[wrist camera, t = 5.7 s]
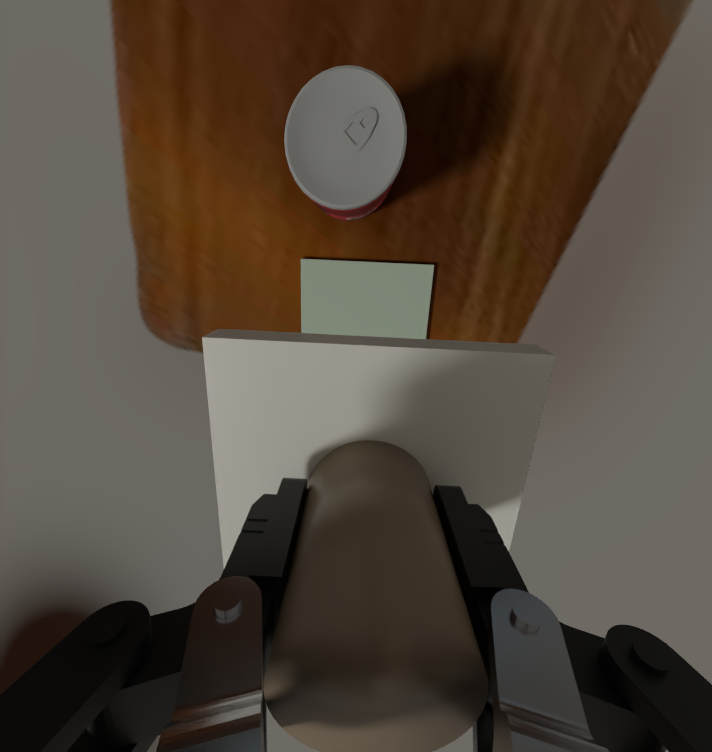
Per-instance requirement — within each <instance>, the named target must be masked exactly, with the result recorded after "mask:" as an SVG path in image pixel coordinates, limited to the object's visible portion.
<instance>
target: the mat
mask: <svg viewBox="0 0 712 752" xmlns="http://www.w3.org/2000/svg"><path fill="white" fill-rule="evenodd" d="M433 271H434V265H426V264H405V263H383V262H362V261H340V260H319V259H301V333H310V334H330V335H350V336H371V337H391V338H411V339H426V333H427V324H428V315H429V307H430V298H431V289H432V280H433Z"/></svg>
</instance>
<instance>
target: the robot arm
mask: <svg viewBox="0 0 712 752" xmlns="http://www.w3.org/2000/svg"><path fill="white" fill-rule="evenodd" d="M306 493H307V479H301V478H283V479H282V481H281V484H280V487H279V489H278V492H277V494H263V495H262V496H261V497H260V498H259V499H258V500H257V501H256V502H255V503H254V504H253V505H252V506H251V508H250V511H249V513H248V515H247V518H246V521H245V522H244V525H243V527H242V529H241V533H240V534H239V536H238V538H237V541H236V543H235V545H234V548H233V550H232V552H231V555H230V557H229V559H228V561H227V564H226V566H225V568H224V571H223V573H222V575H221V578H220V579H219V580H218V581H216V582H214V583H213V584H211V585H210V586H209V587H207V588H206V589H205V590H204V591H203V592H202V593H201V595H200V596H199V597H198V599H197V601H196V602H195V603H193V604H191V605H189V606H187V607H183V608H180V609H177V610H173V611H169V612H165V613H161V614H157V615H153V616H150V614H149V611H148V609H147V608H146V607H145V605H143V604H142V603H140V602H137V601H120V602H116V603H113V604H110V605H108V606H105V607H103V608H101V609H99V610H97V611H96V612H94V613H93V614H91V615H90V616H89V617H87V618H86V619H85V620H84V621H83V622H81V623H80V624H79V625H78V626H77V627H76V628H75V629H73V630H72V631H71V632H70V633H69V634H68V635H67V636H66V637H64V638H63V639H62V640H61V641H60V642H59V643H58V644H57V645H56V646H54V647H53V648H52V649H51V650H50V651H49V652H48V653H46V654H45V655H44V656H43V657H42V658H41V659H40V660H39V661H38V662H36V663H35V664H34V665H33V666H32V667H31V668H30V669H28V670H27V671H26V672H25V673H24V674H23V675H22V676H21V677H19V678H18V679H17V680H16V681H15V682H14V683H13V684H12V685H10V686H9V687H8V688H7V689H6V690H5V691H4V692H3V693H1V694H0V752H147V750H148V749H149V747H150V746H151V744H152V743H153V742H154V740H155V739H156V737H157V736H158V735H161V736H160V738H159V742H158V746H157V750H156V752H267V704H266V701H265V696H264V690H263V688H264V677H265V672H266V668H267V664H268V659H269V655H270V651H271V646H272V642H273V637H274V633H275V629H276V624H277V620H278V616H279V611H280V607H281V603H282V599H283V594H284V590H285V585H286V581H287V577H288V572H289V568H290V563H291V559H292V555H293V550H294V546H295V542H296V537H297V533H298V528H299V524H300V520H301V515H302V511H303V506H304V502H305V498H306ZM433 497H434V500H435V504H436V507H437V510H438V514H439V517H440V520H441V524H442V527H443V530H444V534H445V537H446V540H447V544H448V547H449V550H450V554H451V557H452V560H453V564H454V567H455V570H456V574H457V577H458V580H459V584H460V587H461V590H462V594H463V597H464V600H465V604H466V607H467V610H468V614H469V617H470V620H471V624H472V627H473V630H474V634H475V637H476V640H477V644H478V647H479V650H480V654H481V657H482V660H483V664H484V667H485V670H486V674H487V678H488V697H487V701H486V704H485V707H484V709H483V711H482V713H481V715H480V716H479V718H478V719H477V721H476V722H475V723H474V724H473V752H665V751H666V749H667V750H668V751H669V752H712V685H711V684H710V683H709V682H708V681H707V680H706V679H705V678H704V677H703V676H701V675H700V674H699V673H698V672H697V671H696V670H695V669H694V668H692V666H690V665H689V664H688V663H687V662H686V661H685V660H684V659H683V658H682V657H681V656H679V655H678V654H677V653H676V652H675V651H674V650H673V649H672V648H670V647H669V646H668V645H667V644H666V643H664V642H663V641H662V640H660V639H659V638H657V637H656V636H654V635H652V634H651V633H649V632H647V631H645V630H642V629H640V628H637V627H634V626H630V625H616V626H614V627H612V628H610V629H609V630H608V632H607V635H606V637H605V638H602V637H599V636H596V635H593V634H590V633H587V632H584V631H581V630H578V629H575V628H572V627H570V626H567V625H565V624H563V623H561V622H559V621H558V619H557V617H556V616H555V614H554V613H553V611H552V610H551V609H550V608H549V607H548V606H547V605H546V604H545V603H544V602H542V601H541V600H540V599H538V598H537V597H535V596H534V595H532V594H530V593H529V592H528V590H527V588H526V586H525V584H524V582H523V580H522V578H521V576H520V574H519V572H518V570H517V568H516V566H515V564H514V562H513V560H512V558H511V556H510V554H509V552H508V550H507V548H506V546H504V542H503V540H502V538H501V536H500V534H499V533H498V529H497V527H496V525H495V523H494V521H493V519H492V517H491V516H490V515H489V514H488V513H487V512H486V511H485V510H484V509H483V508H482V507H481V506H480V505H479V504H468V502H467V500H466V498H465V495H464V493H463V491H462V489H461V487H460V486H443V485H435V487H434V491H433Z"/></svg>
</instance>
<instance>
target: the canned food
mask: <svg viewBox="0 0 712 752" xmlns="http://www.w3.org/2000/svg"><path fill="white" fill-rule="evenodd" d="M284 143H285V153H286V158H287V161H288V165H289V168H290V171H291V173H292V175H293V177H294V179H295V181H296V183H297V184H298V185H299V187H300V188H301V189H302V191H303V192H304V193H305V194H306V195H307V196H308V197H309V198H310V199H311V200H312V201H313V202H314V203H315V204H316V205H317V206H318V207H319V208H321V209H322V210H323V211H324V212H325V213H327V214H328V215H330V216H332V217H334V218H337V219H340V220H356V219H359V218H362V217H365V216H367V215H368V214H370V213H372V212H373V211H374V210H375V209H377V208H378V207H379V206H380V204H381V203H382V202H383V201H384V199H385V198H386V196H387V194H388V192H389V190H390V188H391V186H392V185H393V183H394V181H395V179H396V177H397V175H398V173H399V170H400V168H401V165H402V162H403V159H404V156H405V150H406V144H407V126H406V120H405V115H404V111H403V108H402V106H401V103H400V100H399V98H398V97H397V95H396V94H395V92H394V90H393V89H392V87H391V86H390V85H389V84H388V83H387V82H386V81H385V80H384V79H383V78H382V77H380V76H379V75H377V74H376V73H374V72H373V71H370V70H368V69H365V68H362V67H358V66H349V65H346V66H338V67H333V68H331V69H328V70H326V71H323V72H321V73H320V74H318V75H317V76H315V77H314V78H312V79H311V80H310V81H309V82H308V83H307V84H306V85H305V86H304V87H303V88H302V89H301V91H300V92H299V94H298V95H297V97H296V98H295V100H294V102H293V104H292V106H291V109H290V111H289V113H288V118H287V122H286V126H285V138H284Z"/></svg>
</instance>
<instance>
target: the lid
mask: <svg viewBox="0 0 712 752" xmlns="http://www.w3.org/2000/svg"><path fill="white" fill-rule="evenodd" d="M202 342H203V352H204V363H205V373H206V384H207V394H208V405H209V416H210V426H211V436H212V447H213V458H214V469H215V479H216V490H217V501H218V510H219V522H220V533H221V543H222V554H223V565H224V568H225V566H226V564H227V561H228V559H229V557H230V555H231V552H232V550H233V548H234V545H235V543H236V541H237V538H238V536H239V534H240V533H241V529H242V527H243V525H244V522H245V521H246V518H247V515H248V513H249V511H250V508H251V506H252V505H253V504H254V503H255V502H256V501H257V500H258V499H259V498H260V497H261V496H262V495H263V494H277V492H278V489H279V487H280V484H281V481H282V479H283V478H301V479H307V493H306V498H305V502H304V506H303V511H302V515H301V520H300V524H299V528H298V533H297V537H296V542H295V546H294V550H293V555H292V559H291V563H290V568H289V572H288V577H287V581H286V585H285V590H284V594H283V599H282V603H281V607H280V611H279V616H278V620H277V624H276V629H275V633H274V637H273V642H272V646H271V651H270V655H269V659H268V664H267V668H266V672H265V677H264V688H263V690H264V696H265V701H266V704H267V706H268V709H269V711H270V712H271V714H272V716H273V717H274V719H275V720H276V721H277V722H278V724H279V725H280V726H281V727H282V728H283V729H284V730H285V731H286V732H287V733H289V734H290V735H291V736H293V737H294V738H295V739H297V740H298V741H300V742H302V743H303V744H305V745H307V746H309V747H311V748H313V749H316V750H318V751H321V752H432V751H435V750H437V749H439V748H441V747H444V746H446V745H447V744H449V743H451V742H453V741H455V740H456V739H457V738H459V737H460V736H461V735H463V734H464V733H465V732H466V731H467V730H468V729H469V728H471V727H472V726H473V724H474V723H475V722H476V721H477V719H478V718H479V716H480V715H481V713H482V711H483V709H484V707H485V704H486V701H487V697H488V678H487V674H486V670H485V667H484V664H483V660H482V657H481V654H480V650H479V647H478V644H477V640H476V637H475V634H474V630H473V627H472V624H471V620H470V617H469V614H468V610H467V607H466V604H465V600H464V597H463V594H462V590H461V587H460V584H459V580H458V577H457V574H456V570H455V567H454V564H453V560H452V557H451V554H450V550H449V547H448V544H447V540H446V537H445V534H444V530H443V527H442V524H441V520H440V517H439V514H438V510H437V507H436V504H435V500H434V497H433V491H434V487H435V485H443V486H460V487H461V489H462V491H463V493H464V495H465V498H466V500H467V502H468V504H479V505H480V506H481V507H482V508H483V509H484V510H485V511H486V512H487V513H488V514H489V515H490V516H491V517H492V519H493V521H494V523H495V525H496V527H497V529H498V533H499V534H500V536H501V538H502V540H503V542H504V546H506V548H507V550H508V552H509V549H510V545H511V541H512V537H513V532H514V528H515V524H516V520H517V516H518V511H519V507H520V503H521V499H522V495H523V490H524V486H525V482H526V478H527V474H528V470H529V465H530V461H531V457H532V453H533V448H534V444H535V440H536V436H537V431H538V428H539V423H540V419H541V415H542V410H543V407H544V403H545V398H546V394H547V390H548V386H549V382H550V377H551V373H552V369H553V365H554V361H555V356H556V355H555V354H553V353H551V352H549V351H547V350H545V349H543V348H541V347H539V346H537V345H531V344H511V343H491V342H471V341H451V340H431V339H411V338H391V337H371V336H350V335H330V334H310V333H290V332H270V331H250V330H230V329H217V330H215V331H213V332H211V333H209V334H208V335H206V336H204V337H202Z"/></svg>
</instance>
